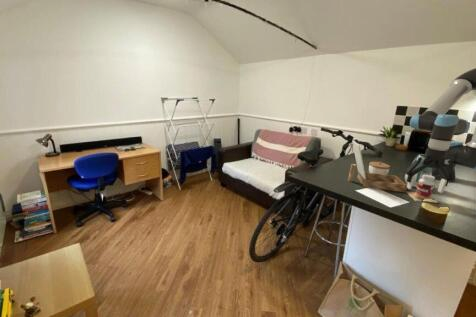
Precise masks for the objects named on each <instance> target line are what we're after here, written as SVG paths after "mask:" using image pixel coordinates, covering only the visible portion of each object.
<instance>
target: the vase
mask: <svg viewBox="0 0 476 317" xmlns="http://www.w3.org/2000/svg"><path fill="white" fill-rule="evenodd" d="M417 156H419V157H422V158H424V157H425V154H420V153H419V154H418V155H417ZM415 159H416V157H415V158H414V160H413V161H412V163H413V162H414V161H415ZM423 162H424V161H422V162H420V164H421V163H423ZM420 164H419V165H420ZM419 165H418V166H419ZM418 166H417V167H418ZM417 167H416V168H417ZM404 174H405V173H404ZM423 175H431V176H432V168H429V167H427V168H424V169H423V170H421V171H420V172H418V173H417V174H415V175H414V177H415V178H414V181H413V184H412V187H413V188H415V189H416V188H417V185H418V182H419V180H420V179H422V176H423ZM407 178H408V175H407V174H405V175H404V181H405V183H406V184H408V182H407ZM412 187H411V188H412Z"/></svg>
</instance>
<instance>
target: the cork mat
mask: <svg viewBox="0 0 476 317" xmlns="http://www.w3.org/2000/svg"><path fill="white" fill-rule="evenodd" d="M405 193H406V194H407V195H408V196H409V197H410V198H411V199H413V200H414V201H415V202H421V203H423V202H422V201H423V200H424V199H422V198H419V197H417V196H415V192H414V191H407V190H406V192H405ZM430 199H432V200H436V198H434V197H433V196H431V197H430Z"/></svg>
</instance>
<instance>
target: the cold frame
mask: <svg viewBox="0 0 476 317" xmlns="http://www.w3.org/2000/svg"><path fill="white" fill-rule="evenodd" d="M356 168H357V163H351V165H350V168H349V174H348V178H347V181H348V182H354V177H355V172H356ZM357 172H358V171H357ZM365 177H366V179H364V178H363V177H362V175H361V174H360V173H359V172H358V173H357V177H356V178H357V179H358V181H359V182H360V183H361V185H362V186H363V187H364V188H368V189H369V188H370V189H378V190H385V191H394V192H401V193H406V191H407V189H408V188H407V183H406V182H404V181H403V180H402V179H401V178H399V176H397V175H394V174H393V175H392V174H387V175H385V174H377V173H370V172H369V171H368V172H367V171H365Z"/></svg>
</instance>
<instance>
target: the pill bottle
mask: <svg viewBox="0 0 476 317" xmlns="http://www.w3.org/2000/svg"><path fill="white" fill-rule="evenodd" d="M435 180H436V179H435V177H434V176H431V175H423V176H422V179H420V180H419V182H418V185H417V188H416V187H415V196H417V197H419V198H422V199H430V197H432V193H433V191H434V187H435V184H436V182H435Z"/></svg>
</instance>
